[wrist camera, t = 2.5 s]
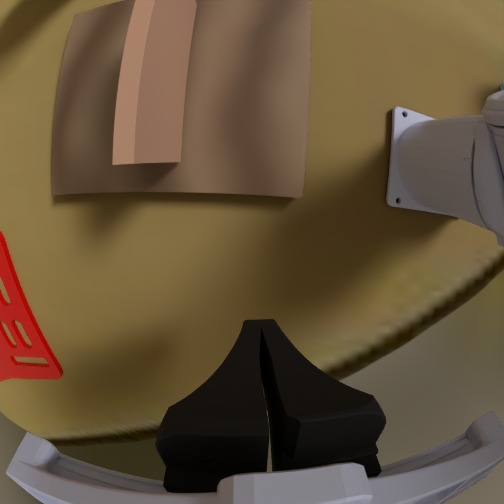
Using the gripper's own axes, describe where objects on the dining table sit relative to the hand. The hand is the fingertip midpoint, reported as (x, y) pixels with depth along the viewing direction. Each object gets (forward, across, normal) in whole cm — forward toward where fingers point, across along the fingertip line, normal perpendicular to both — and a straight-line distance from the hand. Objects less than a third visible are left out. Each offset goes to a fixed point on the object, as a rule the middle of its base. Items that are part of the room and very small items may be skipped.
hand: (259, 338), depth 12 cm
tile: (+8, +5, -14) cm, 17 cm away
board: (+9, +6, -14) cm, 18 cm away
